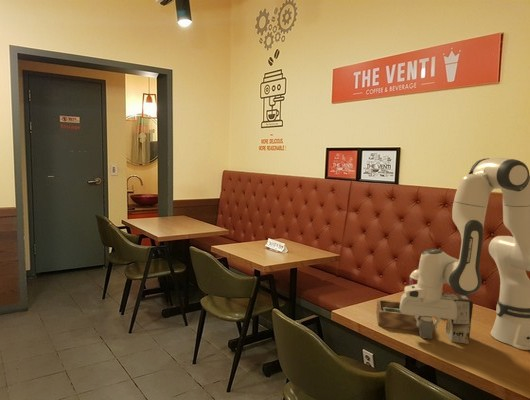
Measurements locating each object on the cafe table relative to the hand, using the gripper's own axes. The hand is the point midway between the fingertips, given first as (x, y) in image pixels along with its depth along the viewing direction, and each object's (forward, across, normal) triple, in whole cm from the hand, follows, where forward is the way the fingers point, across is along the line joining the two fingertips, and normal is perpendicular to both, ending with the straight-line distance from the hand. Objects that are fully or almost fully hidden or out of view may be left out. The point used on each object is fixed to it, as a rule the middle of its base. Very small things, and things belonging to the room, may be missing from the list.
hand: (426, 326), depth 151 cm
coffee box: (+4, -12, -3) cm, 13 cm away
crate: (+4, +8, -12) cm, 15 cm away
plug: (+4, 0, 0) cm, 4 cm away
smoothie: (+4, -2, -34) cm, 34 cm away
